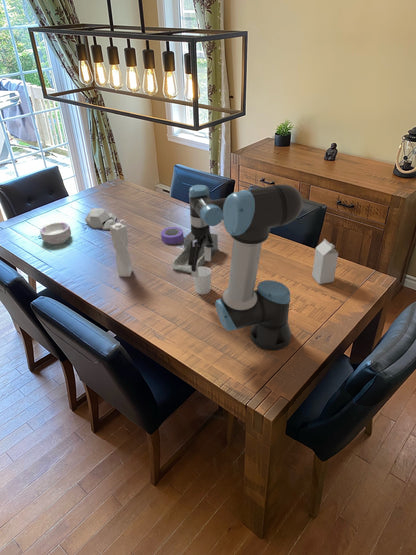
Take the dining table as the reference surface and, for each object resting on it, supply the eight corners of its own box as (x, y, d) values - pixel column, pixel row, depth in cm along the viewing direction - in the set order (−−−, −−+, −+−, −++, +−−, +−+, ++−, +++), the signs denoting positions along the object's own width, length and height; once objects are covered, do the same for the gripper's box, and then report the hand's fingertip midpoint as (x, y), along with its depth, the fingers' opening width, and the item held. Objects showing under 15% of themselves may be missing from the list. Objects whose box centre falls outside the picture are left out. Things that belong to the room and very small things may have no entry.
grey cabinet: (197, 275, 194) (196, 255, 188) (171, 269, 199) (169, 249, 193) (218, 249, 214) (217, 230, 208) (193, 245, 219) (192, 226, 212)
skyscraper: (136, 269, 201) (128, 216, 185) (133, 279, 194) (124, 224, 179) (118, 269, 201) (109, 216, 186) (115, 279, 194) (105, 224, 179)
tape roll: (171, 247, 217) (171, 239, 215) (157, 240, 224) (156, 232, 221) (188, 239, 224) (187, 231, 222) (173, 232, 231) (172, 224, 228)
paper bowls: (38, 241, 227) (35, 228, 223) (64, 232, 235) (61, 219, 231) (50, 251, 218) (47, 237, 213) (77, 241, 226) (74, 228, 221)
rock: (115, 216, 251) (113, 201, 246) (121, 230, 235) (118, 214, 230) (84, 221, 246) (81, 206, 241) (88, 236, 231) (85, 220, 225)
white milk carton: (319, 284, 186) (324, 247, 175) (311, 276, 191) (316, 239, 181) (333, 282, 187) (340, 244, 177) (325, 273, 193) (331, 237, 182)
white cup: (201, 283, 189) (200, 264, 184) (215, 289, 185) (215, 270, 179) (190, 291, 184) (189, 272, 179) (204, 297, 180) (203, 278, 174)
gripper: (195, 239, 156) (197, 286, 168) (220, 212, 175) (220, 255, 187) (177, 236, 158) (180, 282, 170) (203, 209, 177) (205, 252, 189)
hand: (201, 268), depth 179 cm, fingers open, 13 cm apart
